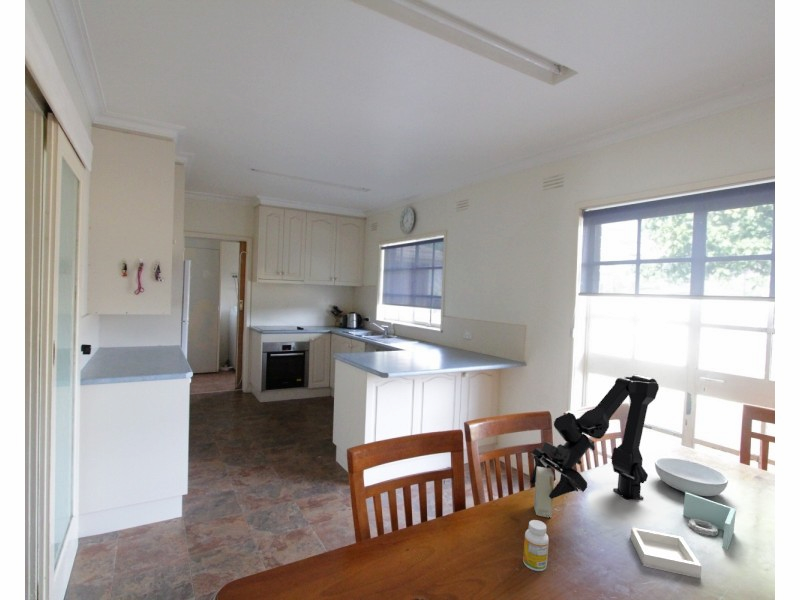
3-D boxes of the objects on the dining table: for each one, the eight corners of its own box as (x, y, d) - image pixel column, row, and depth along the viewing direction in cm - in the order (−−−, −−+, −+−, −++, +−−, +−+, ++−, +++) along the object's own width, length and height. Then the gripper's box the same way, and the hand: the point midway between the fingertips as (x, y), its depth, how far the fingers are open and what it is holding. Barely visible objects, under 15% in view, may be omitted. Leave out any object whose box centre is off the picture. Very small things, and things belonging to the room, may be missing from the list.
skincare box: (551, 518, 120) (554, 477, 119) (535, 516, 121) (539, 474, 120) (548, 507, 126) (551, 467, 126) (533, 504, 127) (536, 465, 126)
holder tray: (630, 537, 113) (631, 527, 112) (680, 547, 109) (681, 536, 109) (643, 566, 101) (644, 554, 101) (700, 578, 98) (701, 565, 98)
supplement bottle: (525, 553, 103) (528, 515, 103) (548, 562, 100) (551, 523, 100) (520, 565, 98) (523, 525, 98) (543, 575, 96) (547, 534, 95)
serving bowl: (722, 487, 148) (724, 468, 148) (730, 512, 130) (732, 490, 130) (653, 469, 159) (655, 452, 159) (652, 491, 141) (654, 471, 141)
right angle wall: (683, 516, 127) (685, 492, 127) (733, 534, 119) (735, 509, 118) (674, 531, 119) (676, 505, 118) (727, 552, 110) (729, 524, 110)
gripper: (538, 422, 133) (506, 459, 129) (582, 445, 115) (546, 488, 112) (556, 445, 135) (526, 481, 132) (602, 470, 118) (568, 513, 115)
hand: (540, 490), depth 123 cm, fingers open, 8 cm apart
